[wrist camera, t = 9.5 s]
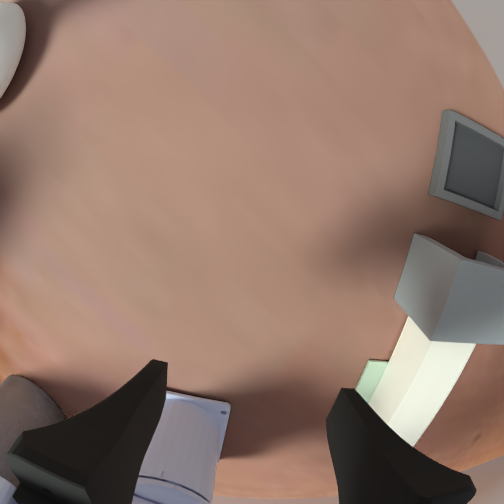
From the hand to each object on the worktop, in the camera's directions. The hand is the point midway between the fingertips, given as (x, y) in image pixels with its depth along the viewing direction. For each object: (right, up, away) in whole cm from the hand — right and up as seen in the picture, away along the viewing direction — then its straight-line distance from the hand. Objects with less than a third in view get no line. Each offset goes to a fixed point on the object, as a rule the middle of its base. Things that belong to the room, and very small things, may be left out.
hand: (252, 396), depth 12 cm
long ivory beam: (+13, -5, +11) cm, 18 cm away
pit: (+16, +12, +6) cm, 21 cm away
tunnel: (+15, +4, +9) cm, 18 cm away
